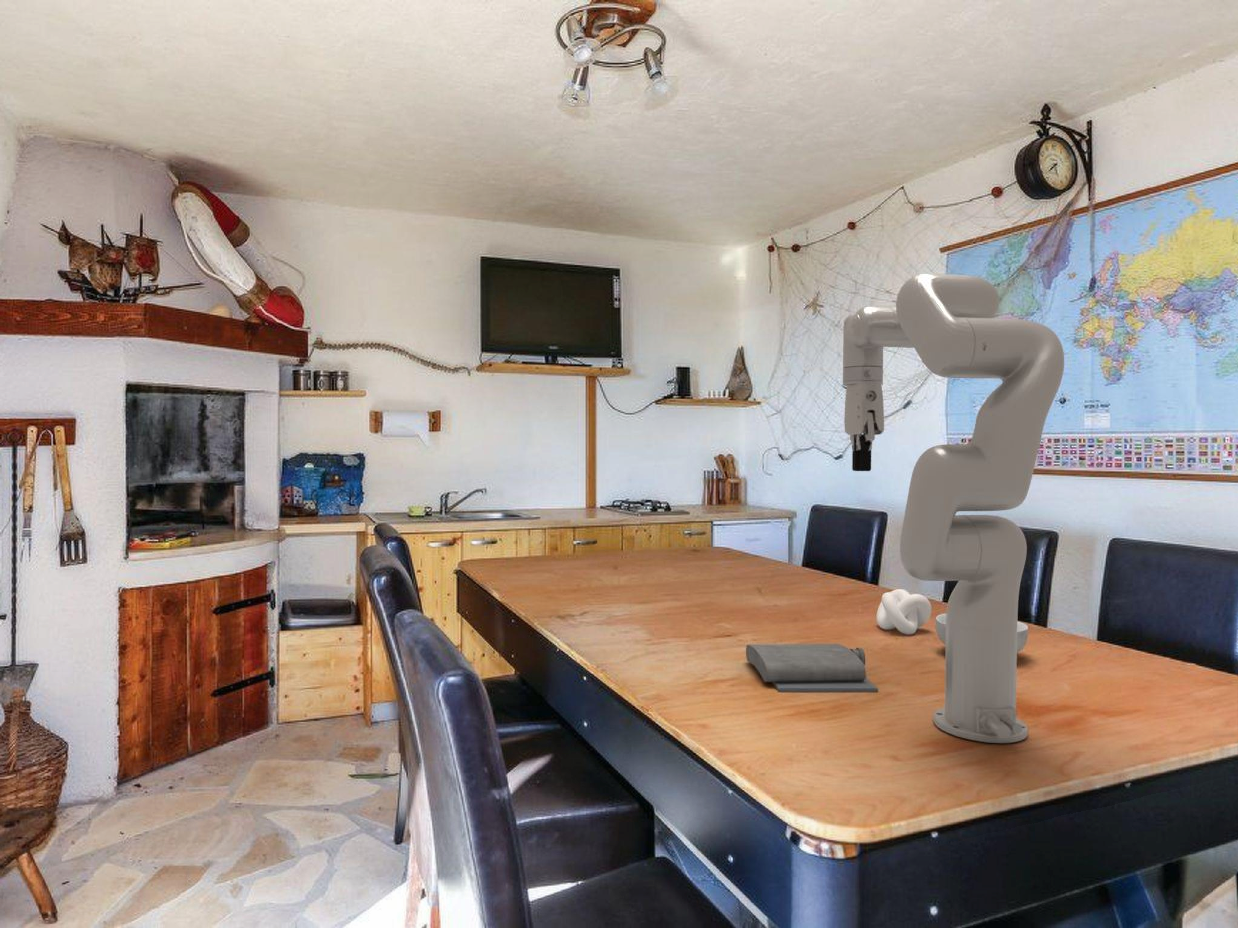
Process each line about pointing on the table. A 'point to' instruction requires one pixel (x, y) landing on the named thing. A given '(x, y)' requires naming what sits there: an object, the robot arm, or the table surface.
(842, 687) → the mat
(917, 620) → the white decorative knot
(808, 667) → the hip flask
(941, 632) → the cereal bowl
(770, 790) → the table surface
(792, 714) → the table surface
